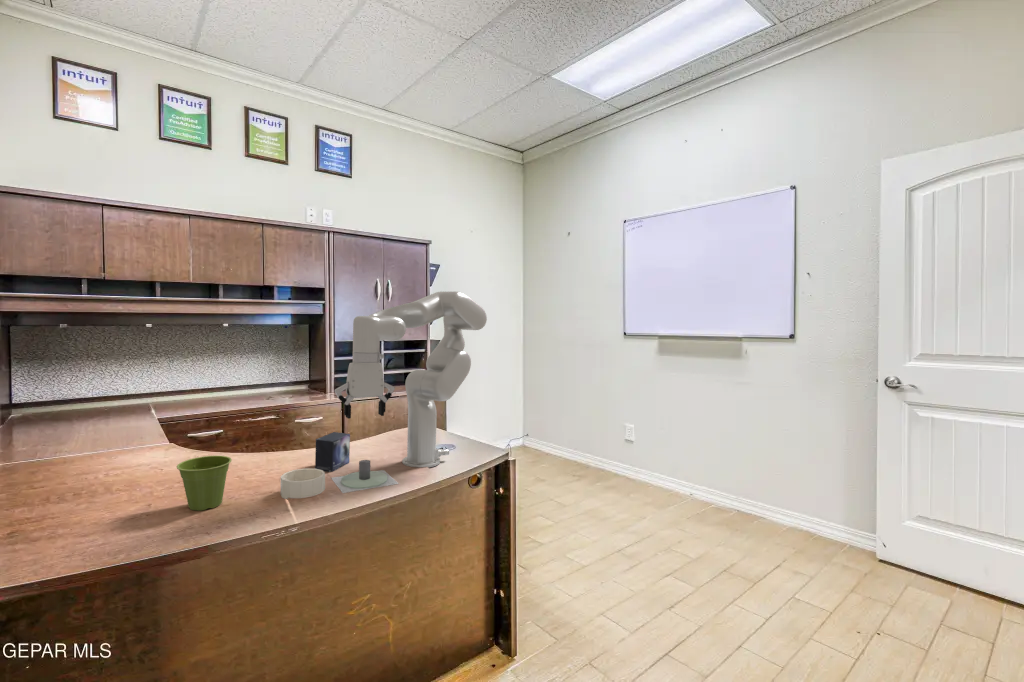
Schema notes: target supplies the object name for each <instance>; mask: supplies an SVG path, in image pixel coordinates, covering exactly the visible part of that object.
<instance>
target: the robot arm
mask: <svg viewBox="0 0 1024 682" xmlns="http://www.w3.org/2000/svg"><path fill="white" fill-rule="evenodd" d="M440 318H442V320H443V328H444V329H443V330H444V331H443V337H442V339H440V341H439V342H438V343H437V345H436V347H434V349H433V350H432V351H431V352H430V354H429V356H428V357H427V359H426V361H425V367H426V369H415V370H412V371H411V372H410V373H408V375H407V377H406V379H405V381H404V382H405V383H404V384H405V386H404V388H405V393H406V398H407V442H406V443H407V447H406V448H407V450H406V451H407V452H406V456H405V457H404V458H402V460H401V461H402V462H401V463H402V464H403V465H404V466H406V467H410V468H411V467H412V468H433V467H436V466H438V465H440V464H441V458H440V457H442V456H448V455H450V451H449V449H448V448H447V449H443V448H437V419H438V416H437V415H438V411H437V406H436V403H435V401H436V402H446V401H448V400H450V399H451V398H452V397H453V396H454V394H456V392H457V390H459V388H460V387H461V385H462V384H463V382H464V381H465V380H466V378H467V376H468V374H469V373H470V370H471V366H472V360H471V359H472V358H471V356H470V354H469V353H468V352H466V351H465V350H464V349H465V347H466V344H465V338H464V334H463V330H465V331H466V330H467V331H479V330H482V329H483V328H484V327H485V326H486V324H487V320H488V319H487V318H488V317H487V313H486V311H485V309H484V308H483V307H482V306H481V305H480V304H478V303H477V302H476V301H474V300H473V299H472V298H471V297H470V296H468V295H466V294H465V293H463V292H460V291H436V292H433V293H431V294H429V295H427V296H424V297H421V298H419V299H417V300H414V301H412V302H407V303H404V304H399V305H395V306H393V307H388V308H385V309H381V310H378V311H377V312H374V313H371V314H370V315H359V316H355V317H354V318H353V322H352V327H353V328H352V362H349V365H348V368H347V376H346V383H344V384H342V385H340V386H338V387H337V388H335V389H334V393H335V395H336V396H337V399H338V400H339V401H341V403H343V416H345V418H347V419H349V420H350V419H352V405H351V404H350V403H352V401H353V399H363V398H378V399H379V400H378V411H377V413H378V414H377V415H380V416H381V417H384V415H385V413H386V405H387V404H386V403H387V402H388V400H389V399H390V398H392V395H393V392H394V391H395V389H396V388H395V386H393V385H391V384H389V383H387V382H385V381H384V380H385V379H384V371H383V365H382V362H381V360H382V359H383V360H384V359H385V354H383V353H381V352H380V346H381V344H380V342H381V341H386V342H395V341H399V340H400V339H402V338H403V337H404V336H405V335H406V333H407V332H406V331H407V329H414V328H420V327H424V326H427V325H428V324H430V323H432V322H435V321H436V320H439V319H440ZM385 388H386V389H388V390H387V392H386V393H385V394H384V392H385ZM343 391H345V394H346V396H345V397H344V396H343V394H342V392H343Z"/></svg>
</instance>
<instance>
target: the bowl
mask: <svg viewBox="0 0 1024 682" xmlns="http://www.w3.org/2000/svg"><path fill="white" fill-rule="evenodd" d="M325 490H326V472H325V471H323V470H319V469H315V468H308V467H307V468H299V469H298V468H297V469H293V470H290V471H287V472H284V473H283V474H282V475H280V496H281V499H285V500H289V499H306V498H311V497H315V496H317V495H320V494H322V493H323V492H324V491H325Z"/></svg>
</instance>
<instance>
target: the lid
mask: <svg viewBox="0 0 1024 682" xmlns="http://www.w3.org/2000/svg"><path fill="white" fill-rule="evenodd" d="M377 471H378V470H371V460H369V459H362V460H359V462H358V471H356V472H351V473H348V474H346V475H343V476H344V477H343V478H342V479H341V483H342V485H344V486H346V487H349V488H358V489H360V488H371V487H376V486H379V485H382V484H384V483H385V482H386V481H387V475H386V474H384V473H382V472H377ZM371 489H372V488H371Z"/></svg>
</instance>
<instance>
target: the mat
mask: <svg viewBox="0 0 1024 682" xmlns="http://www.w3.org/2000/svg"><path fill="white" fill-rule="evenodd" d="M376 471H377V472H382V473H384V474H386V475H387V481H386V482H385V483H384V484H382V485H379V486H376V487H371V488H360V489H358V488H349V487H346V486H344V485H342V483H341V479H342V478H343V477H344V476H345V475H342V476H334V477H330V479H331V480H332V482H333V483H334V485H336V487H337V488H338V489H339V490H340V492H341V494H346V493H352V492H359V491H365V490H371V489H376V488H381V487H387V486H388V487H389V486H395V485H399V482H398V481H397V480H396V479H394V478H393V477H392V476H391V475H390V474H389V473H388V472H386V470H384V469H381V470H376Z"/></svg>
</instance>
